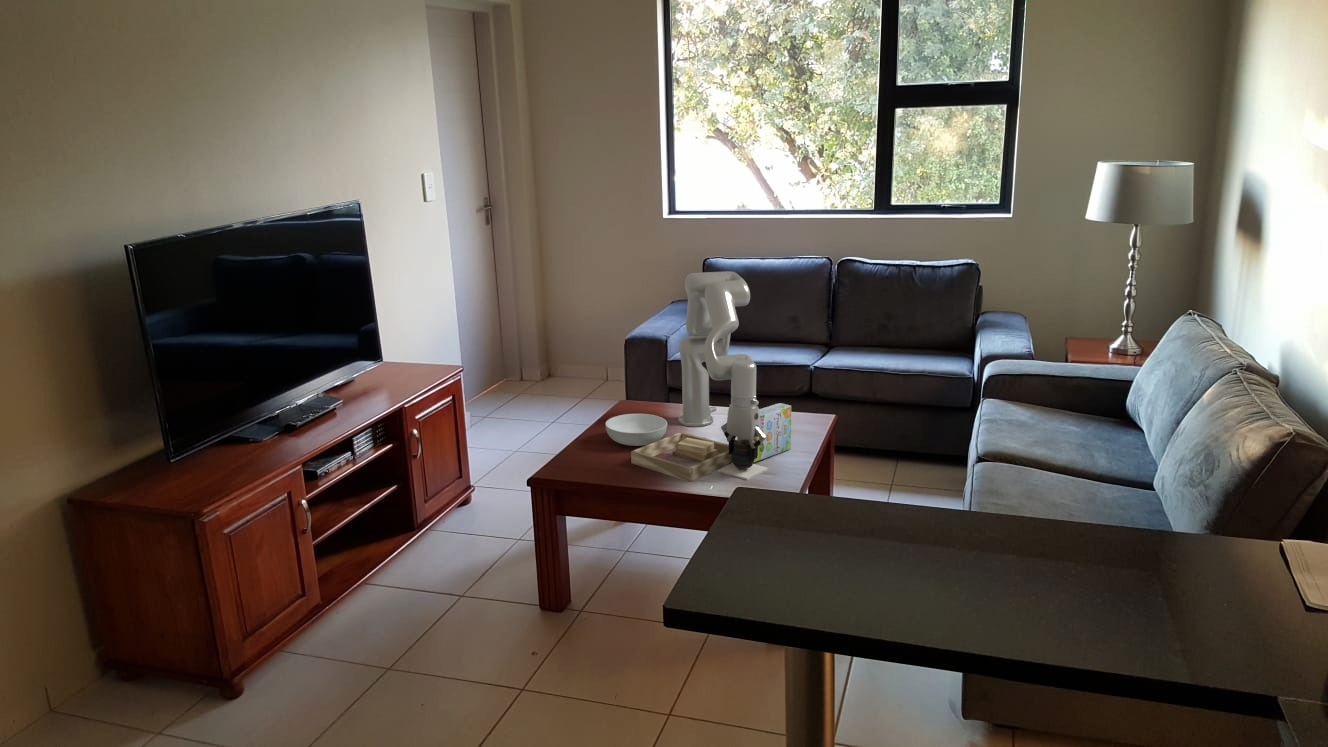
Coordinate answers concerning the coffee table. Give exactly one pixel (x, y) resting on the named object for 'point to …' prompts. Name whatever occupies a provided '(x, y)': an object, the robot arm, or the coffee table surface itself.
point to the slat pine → (696, 445)
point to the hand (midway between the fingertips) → (743, 455)
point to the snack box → (774, 430)
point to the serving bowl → (636, 429)
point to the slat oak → (698, 454)
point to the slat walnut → (686, 457)
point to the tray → (647, 460)
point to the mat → (743, 471)
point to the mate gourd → (741, 454)
